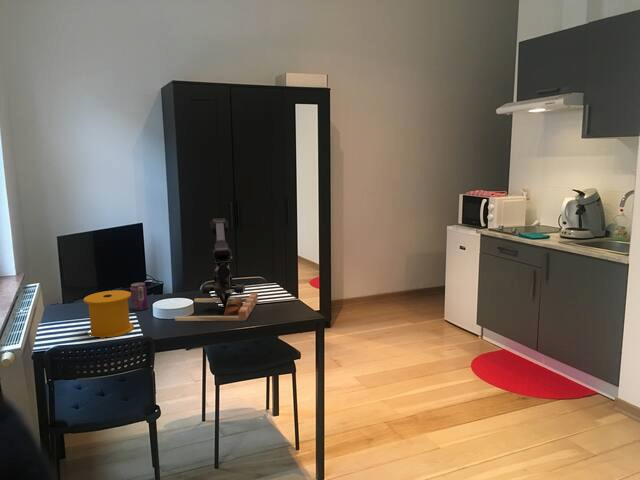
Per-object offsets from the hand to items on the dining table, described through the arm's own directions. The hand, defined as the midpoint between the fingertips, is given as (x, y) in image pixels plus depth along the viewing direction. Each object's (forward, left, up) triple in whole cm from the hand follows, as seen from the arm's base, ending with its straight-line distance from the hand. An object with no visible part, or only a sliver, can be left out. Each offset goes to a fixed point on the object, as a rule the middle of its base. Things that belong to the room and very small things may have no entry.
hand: (224, 307), depth 239 cm
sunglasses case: (-2, +4, -2) cm, 5 cm away
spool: (+27, -41, -2) cm, 49 cm away
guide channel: (0, -3, -2) cm, 4 cm away
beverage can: (-3, -41, -2) cm, 42 cm away
